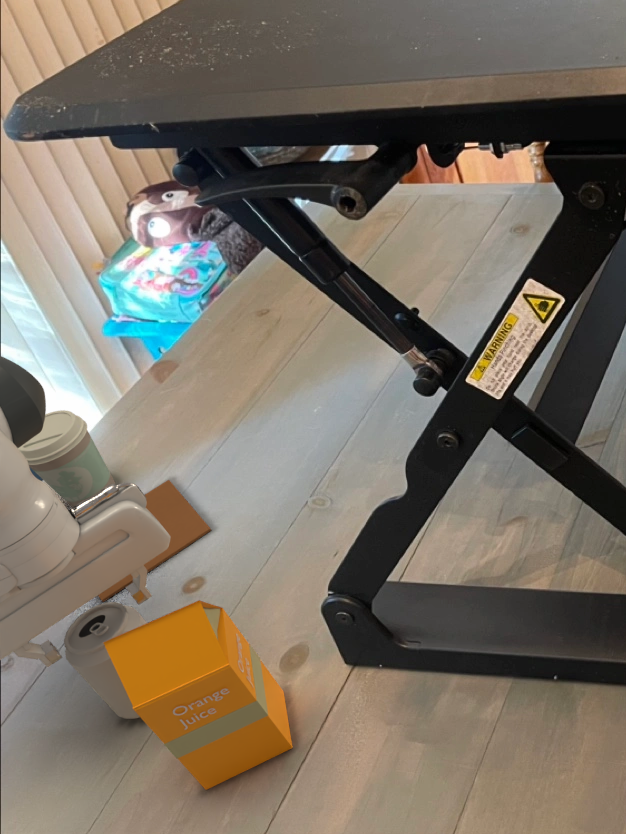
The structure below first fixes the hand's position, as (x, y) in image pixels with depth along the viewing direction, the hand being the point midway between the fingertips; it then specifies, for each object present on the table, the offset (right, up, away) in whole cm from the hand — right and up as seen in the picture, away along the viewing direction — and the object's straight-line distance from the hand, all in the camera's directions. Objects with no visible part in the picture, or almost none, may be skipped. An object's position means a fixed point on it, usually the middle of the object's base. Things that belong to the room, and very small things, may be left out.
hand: (99, 627), depth 108 cm
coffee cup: (-21, +8, +35) cm, 42 cm away
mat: (-10, +4, +26) cm, 29 cm away
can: (+2, -9, +7) cm, 12 cm away
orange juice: (+15, -12, 0) cm, 19 cm away
